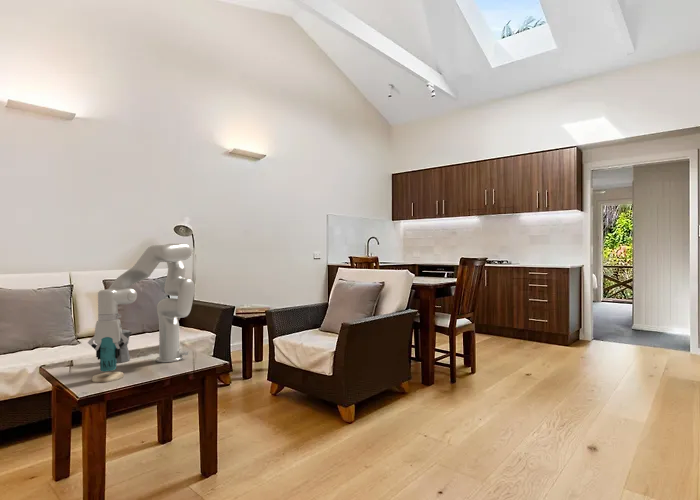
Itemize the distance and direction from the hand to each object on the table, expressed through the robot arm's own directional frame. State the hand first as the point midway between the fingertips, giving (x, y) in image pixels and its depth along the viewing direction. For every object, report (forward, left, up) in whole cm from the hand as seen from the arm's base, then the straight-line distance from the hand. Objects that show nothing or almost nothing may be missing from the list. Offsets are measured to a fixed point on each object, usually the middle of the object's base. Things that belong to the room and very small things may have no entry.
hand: (108, 357), depth 182 cm
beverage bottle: (0, 0, -7) cm, 7 cm away
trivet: (0, 0, -9) cm, 9 cm away
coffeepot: (+3, -32, -9) cm, 33 cm away
